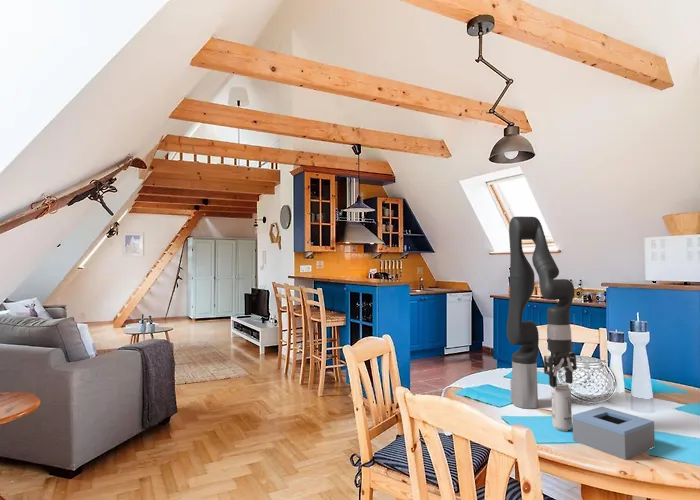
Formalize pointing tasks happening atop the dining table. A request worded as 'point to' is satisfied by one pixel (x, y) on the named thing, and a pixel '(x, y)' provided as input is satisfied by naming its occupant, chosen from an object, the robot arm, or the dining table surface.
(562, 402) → the energy drink can
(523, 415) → the dining table surface
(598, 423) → the box
